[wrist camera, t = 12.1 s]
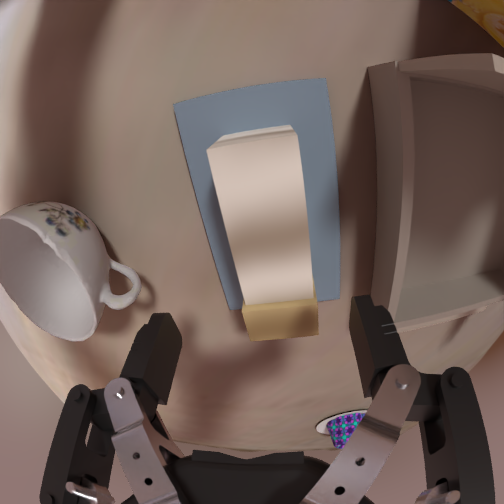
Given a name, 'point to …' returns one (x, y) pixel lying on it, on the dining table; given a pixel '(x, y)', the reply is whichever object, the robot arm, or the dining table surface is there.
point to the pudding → (341, 427)
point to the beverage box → (485, 15)
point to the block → (267, 229)
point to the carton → (438, 187)
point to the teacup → (59, 269)
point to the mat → (312, 159)
